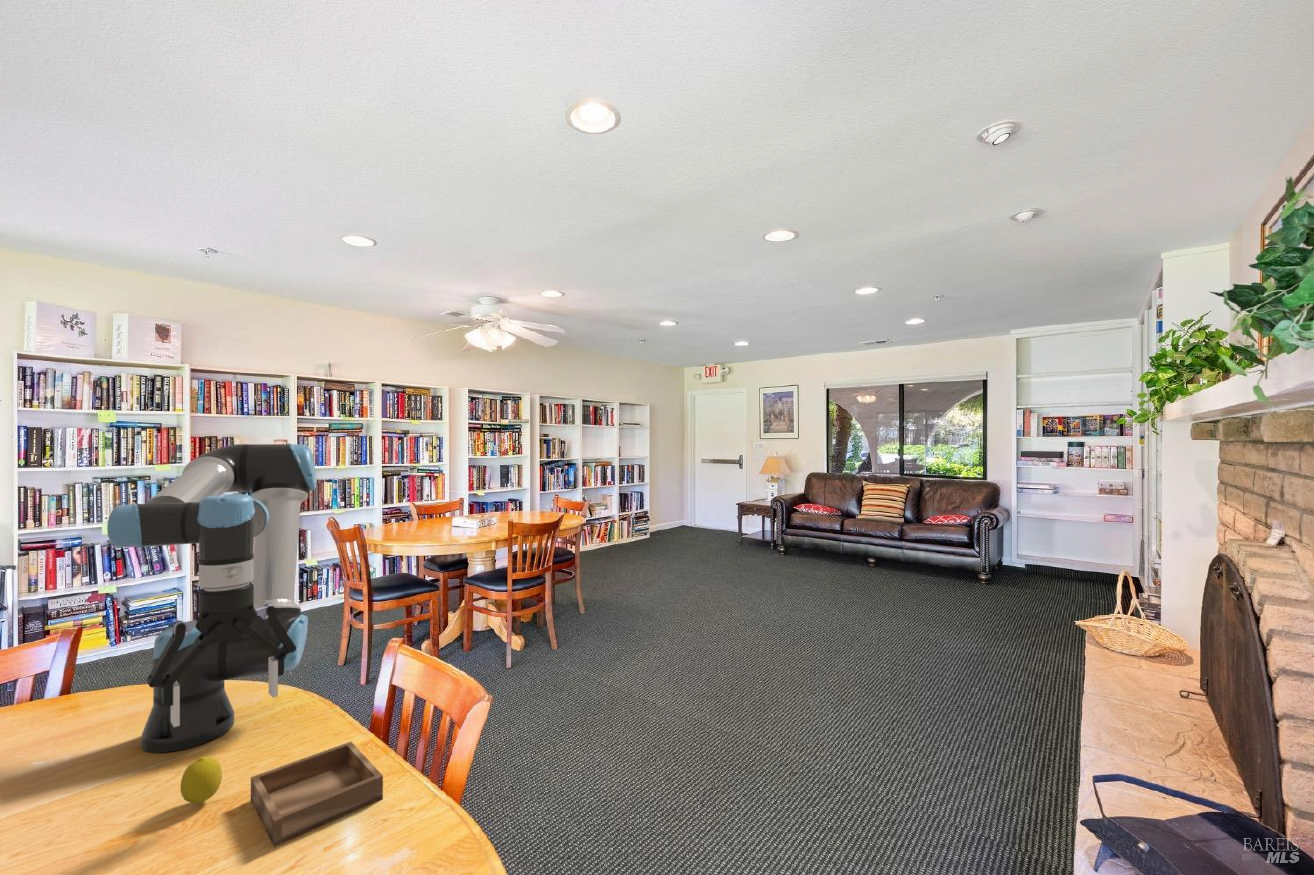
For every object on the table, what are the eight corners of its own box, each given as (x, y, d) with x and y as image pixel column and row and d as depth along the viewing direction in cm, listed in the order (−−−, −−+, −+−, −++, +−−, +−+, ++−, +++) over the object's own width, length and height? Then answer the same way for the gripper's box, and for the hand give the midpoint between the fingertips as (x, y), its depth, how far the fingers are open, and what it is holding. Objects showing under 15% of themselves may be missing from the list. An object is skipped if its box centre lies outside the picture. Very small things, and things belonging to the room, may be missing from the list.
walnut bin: (250, 800, 97) (250, 777, 97) (350, 762, 109) (351, 741, 109) (273, 846, 86) (274, 820, 86) (382, 798, 98) (382, 775, 98)
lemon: (198, 816, 93) (198, 768, 93) (171, 812, 94) (171, 764, 94) (230, 795, 98) (230, 750, 98) (204, 791, 100) (204, 746, 100)
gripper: (130, 606, 85) (130, 746, 85) (315, 575, 103) (315, 690, 103) (124, 596, 89) (124, 728, 90) (302, 568, 108) (301, 678, 108)
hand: (226, 708), depth 97 cm, fingers open, 13 cm apart
